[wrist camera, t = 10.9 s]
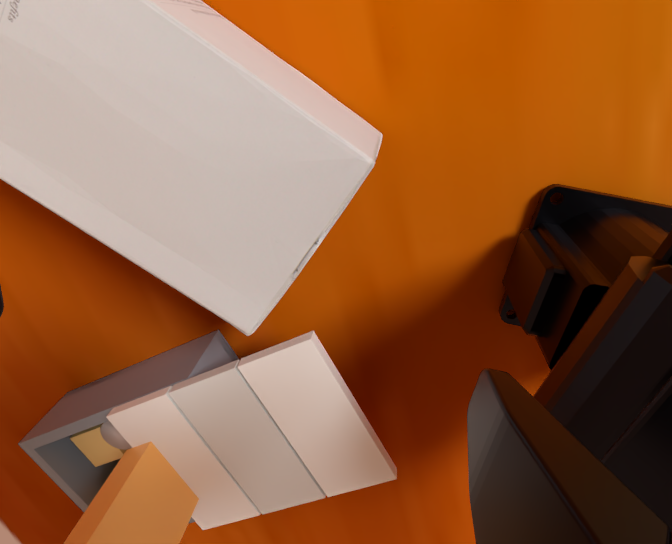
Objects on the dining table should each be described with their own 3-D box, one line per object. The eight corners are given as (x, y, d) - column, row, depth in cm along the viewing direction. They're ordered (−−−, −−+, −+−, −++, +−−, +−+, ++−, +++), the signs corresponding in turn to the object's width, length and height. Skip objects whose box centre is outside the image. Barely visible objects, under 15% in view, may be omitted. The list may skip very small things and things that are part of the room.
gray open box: (218, 329, 25) (187, 378, 21) (294, 439, 27) (278, 498, 24) (67, 392, 28) (17, 443, 24) (147, 485, 30) (114, 543, 27)
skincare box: (-4, 83, 20) (282, 276, 23) (-146, 100, 15) (248, 349, 18) (62, -120, 17) (390, 136, 20) (-92, -193, 12) (388, 173, 14)
